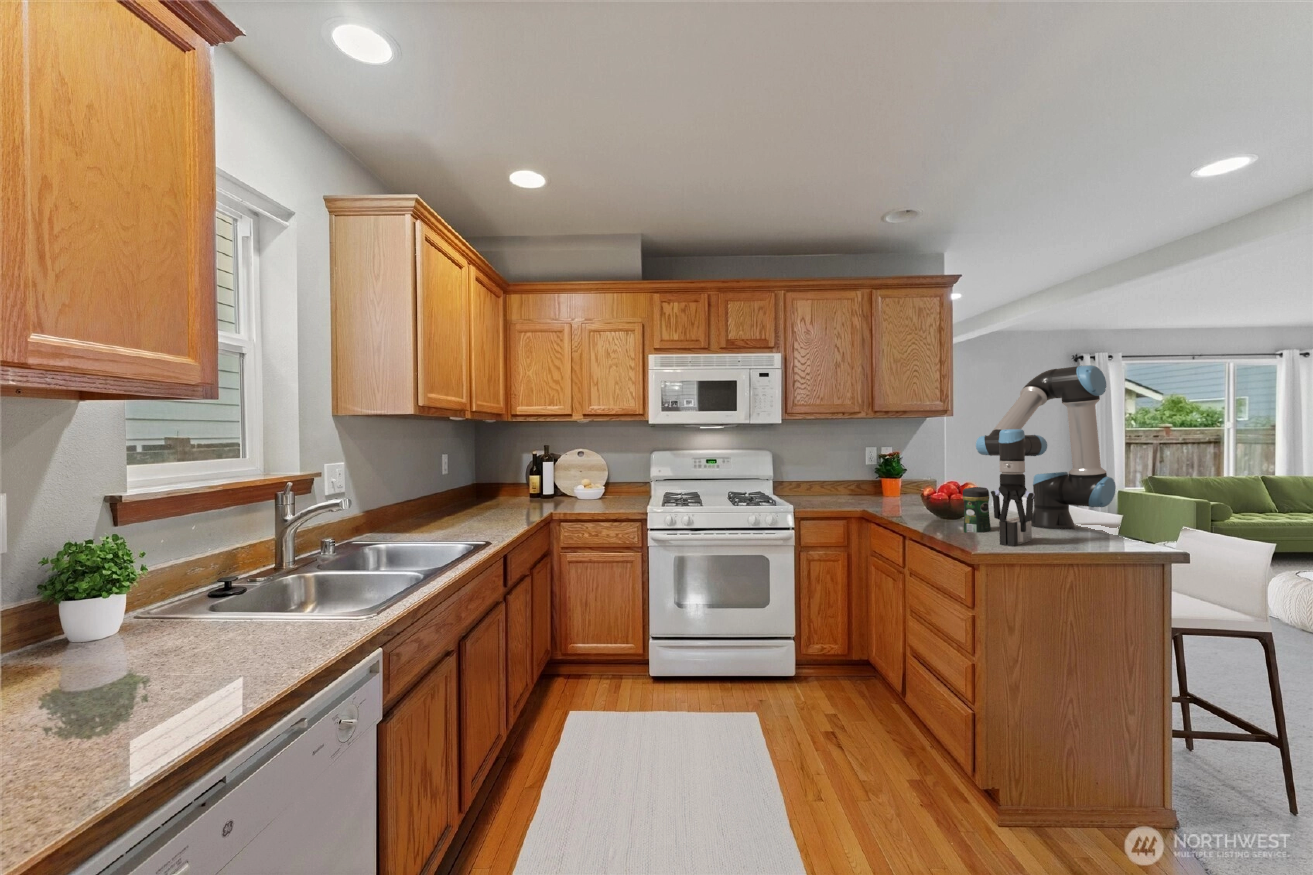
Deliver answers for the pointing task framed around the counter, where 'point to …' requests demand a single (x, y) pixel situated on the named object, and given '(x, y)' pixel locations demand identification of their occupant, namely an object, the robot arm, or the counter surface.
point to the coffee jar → (976, 510)
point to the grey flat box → (1013, 533)
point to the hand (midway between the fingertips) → (1013, 540)
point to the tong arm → (1004, 530)
